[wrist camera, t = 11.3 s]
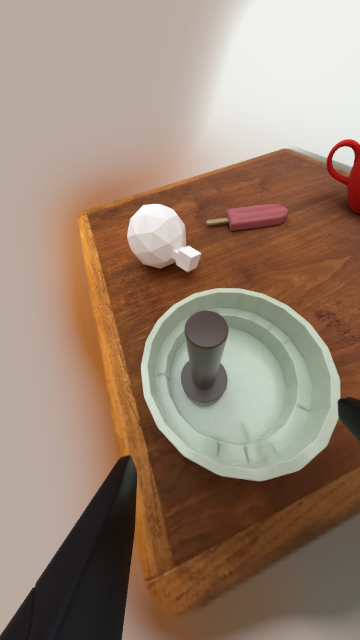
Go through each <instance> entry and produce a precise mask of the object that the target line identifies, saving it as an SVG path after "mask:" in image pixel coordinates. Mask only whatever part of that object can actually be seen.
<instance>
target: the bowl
mask: <svg viewBox="0 0 360 640" xmlns="http://www.w3.org/2000/svg"><path fill="white" fill-rule="evenodd" d="M205 310H208V311H213V312H216V313H218V314H220V315H221V316H222V317H223V318H224V319H225V320H226V322H227V324H228V329H229V331H228V336H227V340H226V344H225V347H224V351H223V355H222V358H221V362H220V363H221V364H222V365H223V367H224V368H225V370H226V373H227V379H228V381H227V387H226V390H225V392H224V393H223V395H222V397H221V398H220V399H219V400H218V401H217V402H216V403H214V404H212V405H209V406H201V405H197V404H195V403H193V402H192V401H191V400H190V399H189V398H188V397H187V396H186V394H185V392H184V389H183V387H182V384H181V372H182V369H183V367H184V365H185V364H186V363H187V362H188V361H189V355H188V349H187V343H186V337H185V330H184V329H185V324H186V322H187V320H188V319H189V317H190V316H191V315H193V314H194V313H196V312H199V311H205ZM141 375H142V384H143V394H144V398H145V400H146V403H147V405H148V407H149V409H150V412H151V414H152V416H153V418H154V421H155V423H156V425H157V427H158V429H159V430H160V431H161V432H162V433H163V434H164V435H165V436H166V438H167V439H168V440H169V441H170V442H171V443H172V444H173V445H174V446H175V447H176V449H177V450H178V451H179V452H180V453H181V454H182V455H183V456H184V457H186V458H188V459H189V460H191V461H193V462H195V463H197V464H199V465H200V466H202V467H204V468H206V469H208V470H209V471H211V472H213V473H215V474H217V475H220V476H223V477H230V478H237V479H245V480H252V481H259V482H260V481H265V480H269V479H272V478H276V477H279V476H283V475H286V474H290V473H293V472H297V471H299V470H301V469H302V468H303V467H304V466H305V465H306V464H308V463H309V462H310V461H311V460H312V459H313V458H314V457H315V456H317V455H318V454H319V453H320V452H321V451H322V450H323V449H324V448H325V447H327V445H328V443H329V440H330V438H331V435H332V433H333V430H334V428H335V425H336V423H337V421H338V418H339V416H338V404H337V402H338V399H340V378H339V375H338V373H337V370H336V367H335V365H334V362H333V359H332V356H331V354H330V351H329V349H328V347H327V346H326V344H325V343H324V342H323V340H322V339H321V338H320V336H319V335H318V334H317V332H316V331H315V330H314V328H313V327H312V325H311V324H310V323H309V322H307V321H306V320H305V319H304V318H303V317H301V316H300V315H299V314H298V313H296V312H295V311H294V310H293V309H291V308H290V307H289V306H287V305H285V304H283V303H281V302H279V301H277V300H275V299H273V298H271V297H269V296H267V295H265V294H262V293H257V292H253V291H249V290H244V289H239V288H215V289H211V290H207V291H203V292H199V293H195V294H193V295H191V296H189V297H187V298H185V299H183V300H181V301H180V302H178V303H176V304H175V305H173V306H172V307H171V308H170V309H169V310H168V311H167V312H166V313H165V314H164V315H163V316H162V317H161V318H160V319H158V321H157V322H156V324H155V326H154V328H153V330H152V331H151V333H150V335H149V337H148V338H147V340H146V344H145V349H144V353H143V358H142V363H141Z"/></svg>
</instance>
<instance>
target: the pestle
mask: <svg viewBox="0 0 360 640" xmlns="http://www.w3.org/2000/svg"><path fill="white" fill-rule="evenodd" d="M184 330H185V337H186V343H187V349H188V355H189V361H188V362H187V363H186V364H185V365H184V367H183V369H182V372H181V384H182V387H183V389H184V392H185V394H186V396H187V397H188V398H189V399H190V400H191V401H192V402H193V403H195V404H197V405H201V406H209V405H212V404H214V403H216V402H217V401H218V400H219V399H220V398H221V397H222V395H223V393H224V392H225V390H226V387H227V381H228V379H227V373H226V370H225V368H224V367H223V365H222V364H221V363H220V362H221V358H222V355H223V351H224V347H225V344H226V340H227V336H228V331H229V329H228V324H227V322H226V320H225V319H224V318H223V317H222V316H221V315H220V314H218V313H216V312H213V311H208V310H205V311H199V312H196V313H194V314H193V315H191V316H190V317H189V319H188V320H187V322H186V324H185V329H184Z"/></svg>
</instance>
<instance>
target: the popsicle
mask: <svg viewBox="0 0 360 640" xmlns="http://www.w3.org/2000/svg"><path fill="white" fill-rule="evenodd" d="M287 215H288V210H287V208H285V207H284V206H281V205H278V204H267V205H259V206H250V207H241V208H233V209H227V210H226V218H222V219H214V220H207V221H206V224H207V225H212V224H220V223H228V225H229V227H230V230H231V231H237V230H244V229H252V228H259V227H267V226H274V225H278V224H281V223H283V222H284V221H285V219H286V217H287Z"/></svg>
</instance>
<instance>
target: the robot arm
mask: <svg viewBox="0 0 360 640" xmlns="http://www.w3.org/2000/svg"><path fill="white" fill-rule="evenodd" d="M337 404H338V416H339V419H340V420H341V421H342V423H343V424H344V425H345V426H346V427H347V428H348V429H349V430H350V431H351V432H352V433H353V435H354V436H355V437H356V438H357V439H358V440H359V441H360V400H358V399H355V398H351V397H344V398H341V399H338V402H337ZM136 489H137V471H136V468H135V465H134V462H133V460H132V457H131V456H130V455H128V456H124V457H121V458H120V459H119V460H118V461H117V463H116V464H115V466H114V467H113V469H112V470H111V472H110V473H109V475H108V477H107V478H106V479H105V481H104V482H103V484H102V485H101V487H100V488H99V490H98V492H97V493H96V494H95V496H94V497H93V499H92V500H91V502H90V503H89V505H88V506H87V508H86V509H85V511H84V512H83V514H82V515H81V517H80V518H79V520H78V521H77V523H76V524H75V526H74V527H73V529H72V530H71V532H70V533H69V535H68V536H67V538H66V539H65V541H64V542H63V544H62V545H61V547H60V548H59V550H58V551H57V553H56V554H55V556H54V557H53V559H52V560H51V561H50V563H49V564H48V566H47V568H46V569H45V571H44V572H43V573H42V575H41V577H40V578H39V580H38V581H37V582H36V585H35V587H34V588H32V590H31V591H30V593H29V594H28V596H27V597H26V599H25V600H24V602H23V603H22V605H21V606H20V608H19V609H18V611H17V612H16V614H15V615H14V617H13V618H12V619H11V621H10V622H9V624H8V625H7V627H6V628H5V630H4V631H3V632H2V634H1V635H0V640H122V631H123V623H124V615H125V607H126V598H127V590H128V582H129V573H130V565H131V557H132V548H133V541H134V531H135V514H136Z"/></svg>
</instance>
